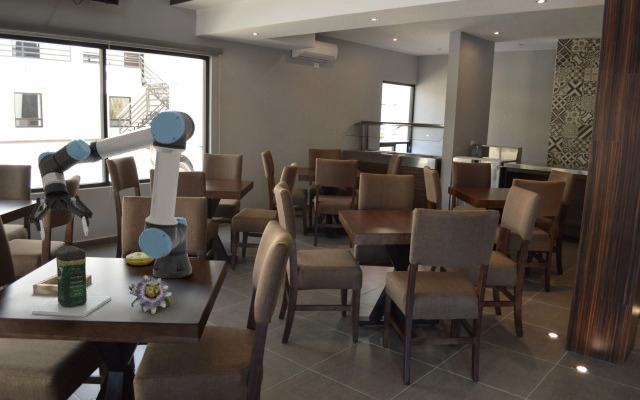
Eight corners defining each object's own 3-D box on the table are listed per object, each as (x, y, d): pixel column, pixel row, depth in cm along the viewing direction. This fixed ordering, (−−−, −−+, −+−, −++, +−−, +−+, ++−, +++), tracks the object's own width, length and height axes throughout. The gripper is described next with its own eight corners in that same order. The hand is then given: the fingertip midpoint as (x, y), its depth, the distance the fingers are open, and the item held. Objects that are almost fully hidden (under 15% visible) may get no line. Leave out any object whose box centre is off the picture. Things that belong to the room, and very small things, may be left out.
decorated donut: (153, 259, 233) (153, 250, 232) (154, 265, 222) (154, 256, 222) (126, 260, 229) (126, 251, 229) (126, 266, 218) (126, 257, 218)
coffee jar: (90, 304, 167) (88, 248, 165) (64, 309, 162) (61, 251, 159) (80, 297, 174) (78, 242, 172) (54, 301, 169) (52, 245, 166)
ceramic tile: (111, 299, 176) (111, 296, 176) (84, 316, 159) (84, 313, 159) (63, 296, 177) (63, 294, 177) (31, 313, 160) (31, 310, 160)
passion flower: (153, 332, 164) (133, 305, 156) (134, 315, 172) (114, 289, 164) (184, 304, 170) (166, 277, 162) (164, 289, 178) (146, 263, 169)
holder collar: (91, 282, 194) (91, 275, 193) (69, 295, 179) (69, 286, 179) (58, 281, 195) (58, 273, 194) (33, 293, 180) (32, 284, 180)
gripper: (90, 192, 198) (102, 237, 188) (15, 196, 183) (23, 246, 173) (93, 179, 193) (105, 225, 183) (16, 183, 178) (24, 233, 168)
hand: (65, 235), depth 178 cm, fingers open, 13 cm apart
